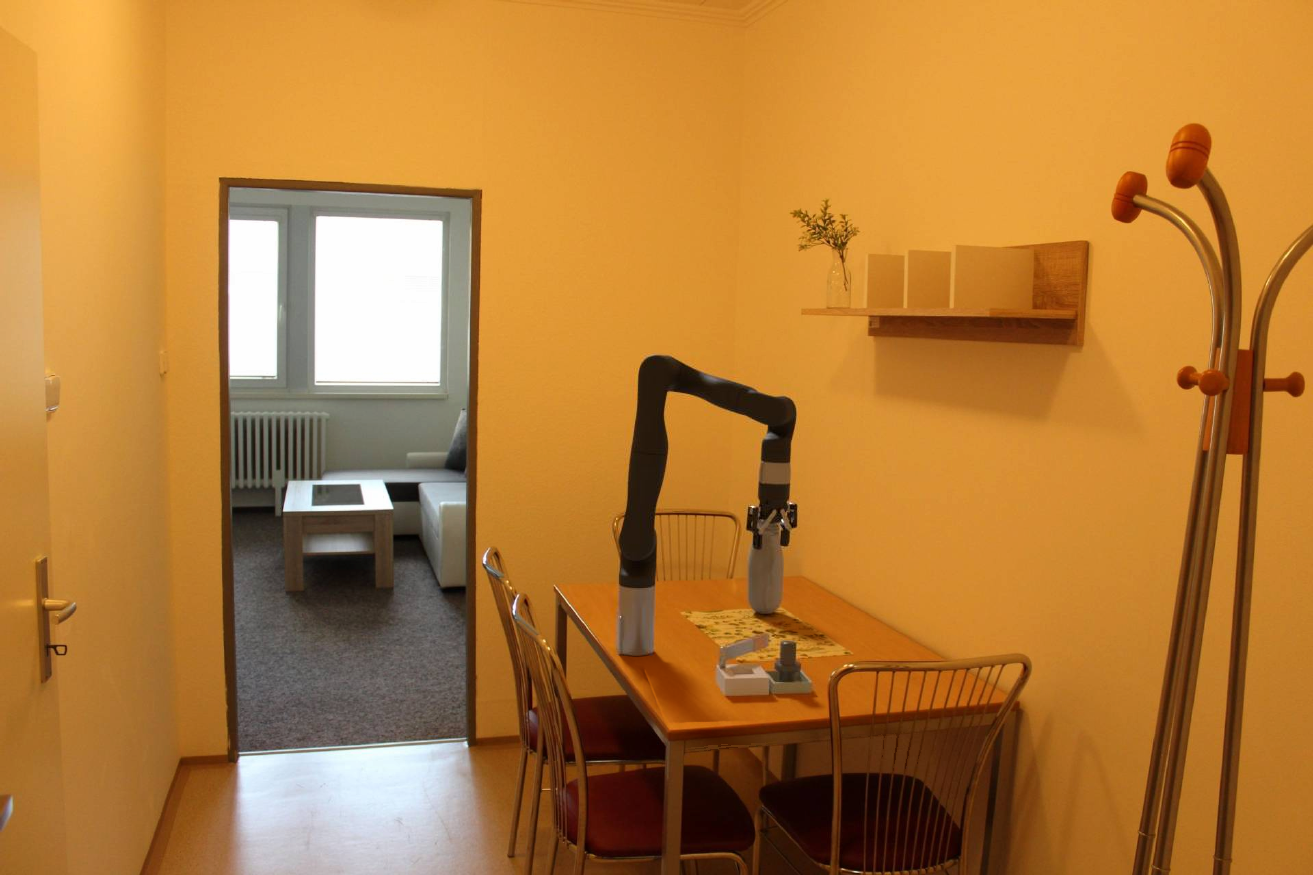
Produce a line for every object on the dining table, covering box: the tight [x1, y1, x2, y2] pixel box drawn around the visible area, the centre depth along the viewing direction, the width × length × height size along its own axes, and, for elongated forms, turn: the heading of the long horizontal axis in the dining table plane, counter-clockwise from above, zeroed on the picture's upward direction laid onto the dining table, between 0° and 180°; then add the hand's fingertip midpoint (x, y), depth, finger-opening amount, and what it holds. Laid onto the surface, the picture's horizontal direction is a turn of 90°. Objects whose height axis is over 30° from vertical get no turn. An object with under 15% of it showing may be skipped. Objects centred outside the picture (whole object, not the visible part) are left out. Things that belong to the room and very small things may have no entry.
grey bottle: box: [746, 519, 785, 615], centre depth 310 cm, size 10×10×28 cm
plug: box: [773, 640, 802, 682], centre depth 242 cm, size 6×6×10 cm
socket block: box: [715, 663, 770, 697], centre depth 240 cm, size 10×10×4 cm
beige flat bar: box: [718, 632, 770, 668], centre depth 248 cm, size 18×2×5 cm, turn 138°
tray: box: [764, 669, 813, 695], centre depth 242 cm, size 9×9×2 cm
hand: (770, 547), depth 255 cm, fingers open, 8 cm apart
